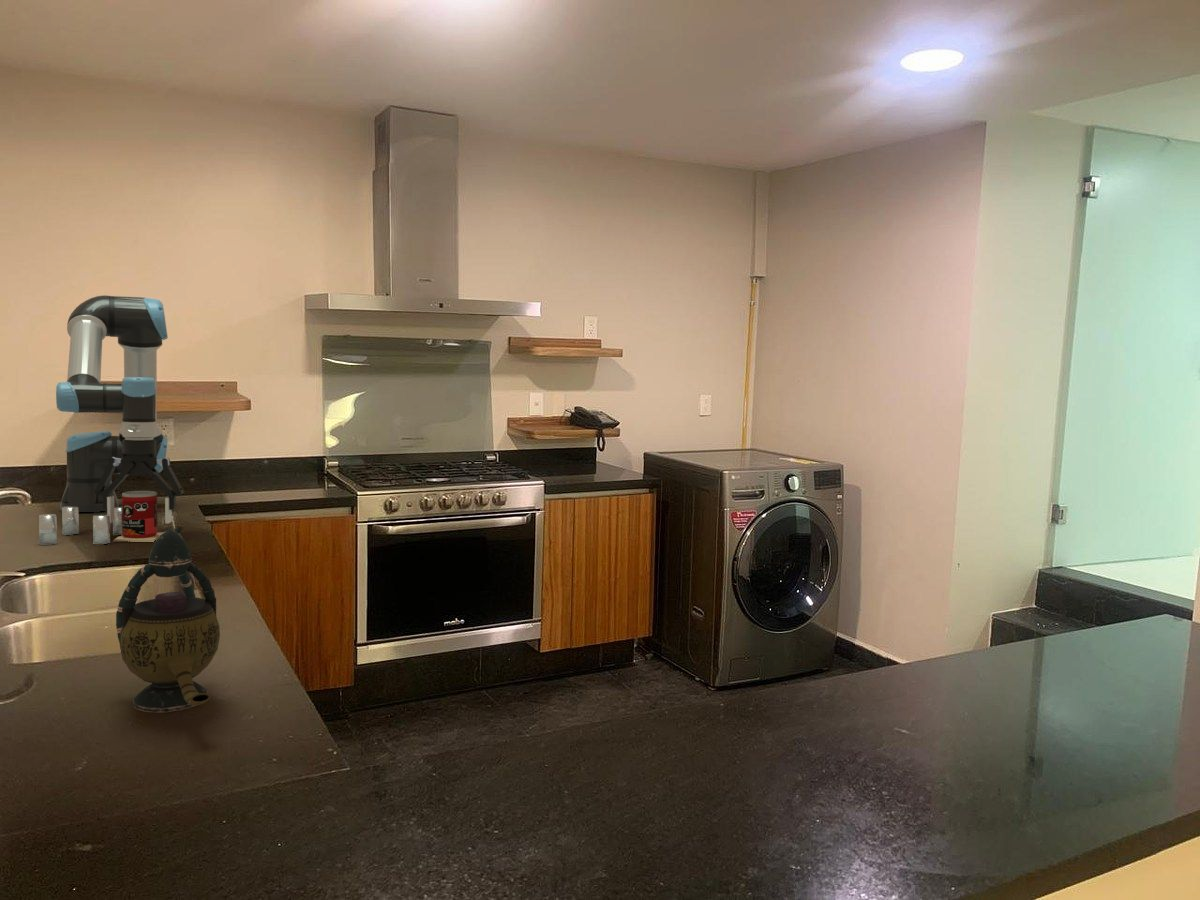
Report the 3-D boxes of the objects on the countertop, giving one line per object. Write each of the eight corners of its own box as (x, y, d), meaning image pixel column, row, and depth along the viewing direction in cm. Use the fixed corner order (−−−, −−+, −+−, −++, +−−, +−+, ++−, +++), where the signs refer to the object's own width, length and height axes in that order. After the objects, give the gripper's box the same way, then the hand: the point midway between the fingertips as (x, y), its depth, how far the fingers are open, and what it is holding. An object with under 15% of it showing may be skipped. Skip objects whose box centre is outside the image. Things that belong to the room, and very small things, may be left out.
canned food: (114, 536, 223) (114, 493, 222) (139, 531, 230) (139, 489, 229) (139, 539, 221) (139, 495, 220) (164, 534, 228) (164, 491, 227)
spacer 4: (116, 533, 232) (115, 506, 231) (130, 533, 232) (130, 506, 232) (110, 535, 228) (110, 508, 228) (126, 535, 229) (125, 508, 228)
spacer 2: (66, 532, 230) (65, 506, 229) (81, 533, 230) (80, 506, 230) (60, 535, 226) (59, 508, 226) (75, 535, 227) (75, 508, 226)
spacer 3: (96, 542, 219) (96, 514, 218) (112, 542, 220) (112, 514, 219) (90, 545, 215) (90, 516, 215) (106, 545, 216) (106, 516, 216)
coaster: (127, 535, 230) (127, 532, 230) (165, 535, 231) (165, 532, 231) (113, 542, 220) (113, 539, 220) (152, 542, 221) (152, 539, 221)
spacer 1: (43, 542, 217) (43, 514, 216) (59, 542, 218) (59, 514, 217) (36, 545, 213) (36, 516, 213) (53, 545, 214) (52, 516, 213)
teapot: (202, 672, 130) (201, 514, 128) (253, 730, 110) (254, 544, 108) (108, 688, 122) (106, 520, 120) (145, 752, 102) (144, 553, 101)
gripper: (79, 438, 218) (80, 524, 219) (187, 440, 222) (188, 525, 224) (91, 436, 225) (92, 519, 227) (196, 438, 229) (196, 520, 231)
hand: (139, 522), depth 225 cm, fingers open, 13 cm apart
